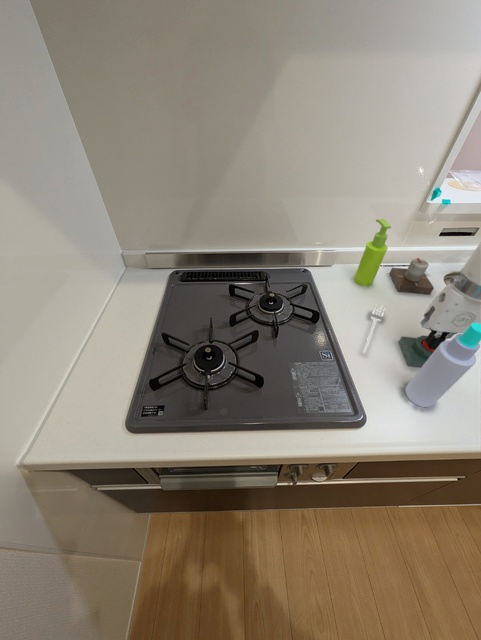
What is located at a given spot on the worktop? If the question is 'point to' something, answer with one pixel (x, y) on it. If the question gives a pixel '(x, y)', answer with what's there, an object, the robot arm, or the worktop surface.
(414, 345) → the button housing
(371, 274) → the soap dispenser
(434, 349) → the button
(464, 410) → the worktop surface
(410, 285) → the brown flat block
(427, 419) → the worktop surface
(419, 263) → the dial
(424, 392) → the spray bottle
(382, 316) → the fork
